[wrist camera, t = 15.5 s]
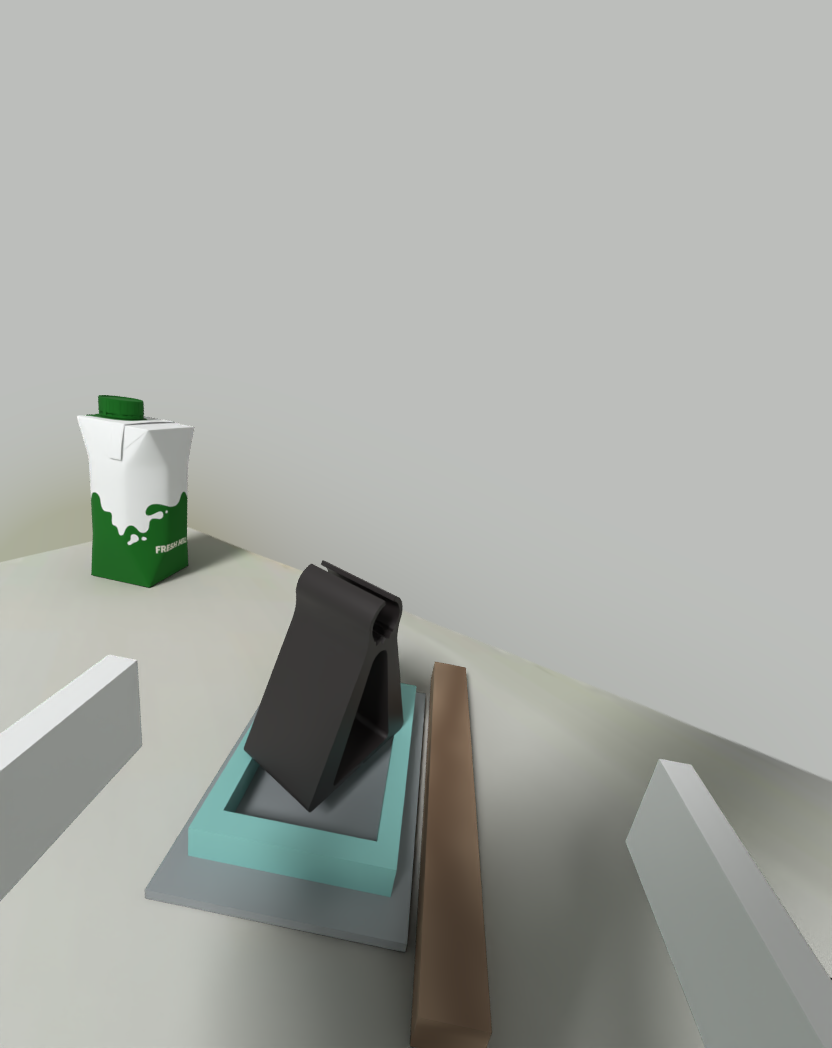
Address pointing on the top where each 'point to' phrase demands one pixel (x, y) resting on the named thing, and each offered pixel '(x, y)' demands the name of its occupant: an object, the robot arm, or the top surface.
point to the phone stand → (330, 686)
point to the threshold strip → (450, 883)
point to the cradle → (306, 845)
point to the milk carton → (136, 491)
